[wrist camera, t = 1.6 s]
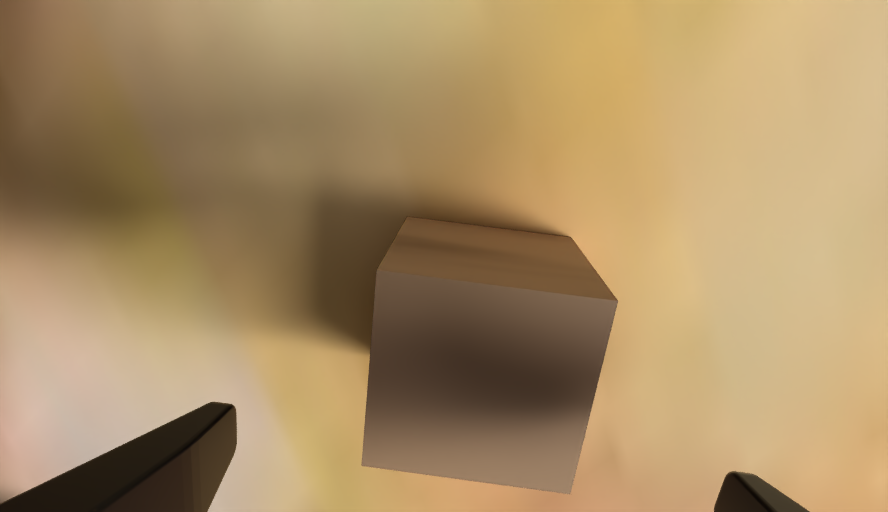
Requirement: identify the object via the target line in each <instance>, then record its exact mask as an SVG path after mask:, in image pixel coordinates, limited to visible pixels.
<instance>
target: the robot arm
mask: <svg viewBox="0 0 888 512" xmlns="http://www.w3.org/2000/svg"><path fill="white" fill-rule="evenodd" d="M236 444H237V422H236V409H235V406H233V405H232V404H227V403H220V402H210V403H208V404H206V405H204V406H202V407H200V408H198V409H195V410H193V411H191V412H189V413H187V414H185V415H183V416H181V417H179V418H177V419H175V420H173V421H171V422H169V423H167V424H164V425H162V426H160V427H158V428H156V429H154V430H152V431H150V432H148V433H146V434H144V435H142V436H140V437H138V438H136V439H133V440H131V441H129V442H127V443H125V444H123V445H121V446H119V447H117V448H115V449H113V450H111V451H109V452H107V453H104V454H102V455H100V456H98V457H96V458H94V459H92V460H90V461H88V462H86V463H84V464H82V465H80V466H78V467H76V468H73V469H71V470H69V471H67V472H65V473H63V474H61V475H59V476H57V477H55V478H53V479H51V480H49V481H47V482H44V483H42V484H40V485H38V486H36V487H34V488H32V489H30V490H28V491H26V492H24V493H22V494H20V495H18V496H15V497H13V498H11V499H9V500H7V501H5V502H3V503H1V504H0V512H207V511H208V509H209V507H210V505H211V503H212V501H213V499H214V496H215V494H216V492H217V490H218V488H219V486H220V484H221V481H222V479H223V477H224V475H225V473H226V471H227V469H228V466H229V464H230V462H231V460H232V458H233V456H234V453H235V450H236ZM714 512H809V511H808V510H807V509H805V508H804V507H802V506H801V505H799V504H798V503H796V502H795V501H793V500H792V499H790V498H789V497H787V496H786V495H784V494H783V493H781V492H780V491H779V490H777V489H776V488H774V487H773V486H771V485H770V484H768V483H767V482H765V481H764V480H762V479H761V478H759V477H758V476H756V475H754V474H750V473H743V472H736V471H732V472H729V473H728V474H727V475H726V477H725V479H724V482H723V484H722V487H721V490H720V492H719V495H718V498H717V501H716V503H715V507H714Z"/></svg>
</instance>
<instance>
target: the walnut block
mask: <svg viewBox="0 0 888 512" xmlns="http://www.w3.org/2000/svg"><path fill="white" fill-rule="evenodd" d="M617 303H618V300H617V299H616V298H615V296H614V295H613V294H612V292H611V291H610V289H609V288H608V287H607V285H606V284H605V283H604V281H603V280H602V279H601V277H600V276H599V274H598V273H597V272H596V270H595V269H594V268H593V266H592V265H591V264H590V262H589V261H588V259H587V258H586V257H585V255H584V254H583V253H582V251H581V250H580V249H579V247H578V246H577V244H576V243H575V242H574V240H573V239H572V238H571V237H566V236H558V235H550V234H542V233H534V232H526V231H518V230H510V229H502V228H494V227H487V226H479V225H471V224H463V223H455V222H447V221H439V220H431V219H423V218H415V217H407V218H406V220H405V221H404V223H403V225H402V227H401V228H400V230H399V232H398V234H397V235H396V237H395V239H394V241H393V242H392V244H391V246H390V248H389V249H388V251H387V253H386V255H385V256H384V258H383V260H382V262H381V263H380V265H379V267H378V269H377V273H376V285H375V298H374V311H373V324H372V337H371V350H370V363H369V376H368V389H367V402H366V415H365V428H364V441H363V454H362V466H366V467H373V468H381V469H388V470H395V471H403V472H410V473H417V474H425V475H432V476H439V477H447V478H454V479H461V480H469V481H476V482H483V483H491V484H498V485H505V486H513V487H520V488H527V489H535V490H542V491H549V492H557V493H564V494H570V493H571V489H572V485H573V481H574V477H575V473H576V469H577V465H578V461H579V457H580V453H581V449H582V445H583V441H584V437H585V433H586V429H587V425H588V421H589V416H590V412H591V408H592V404H593V400H594V396H595V392H596V388H597V384H598V380H599V376H600V372H601V368H602V364H603V360H604V356H605V352H606V348H607V344H608V340H609V336H610V332H611V328H612V323H613V319H614V315H615V311H616V307H617Z"/></svg>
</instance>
